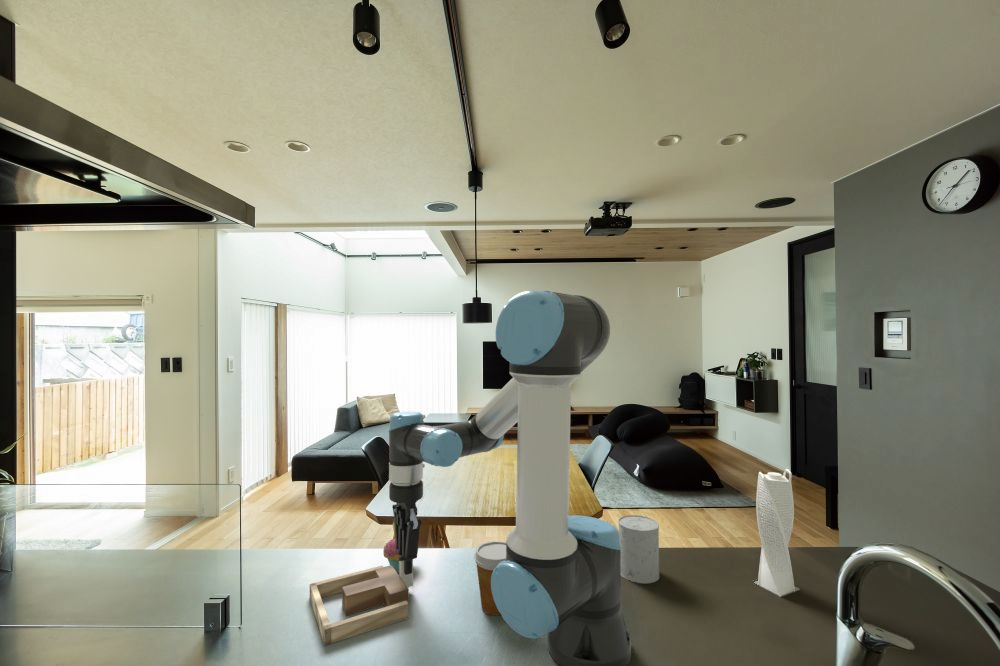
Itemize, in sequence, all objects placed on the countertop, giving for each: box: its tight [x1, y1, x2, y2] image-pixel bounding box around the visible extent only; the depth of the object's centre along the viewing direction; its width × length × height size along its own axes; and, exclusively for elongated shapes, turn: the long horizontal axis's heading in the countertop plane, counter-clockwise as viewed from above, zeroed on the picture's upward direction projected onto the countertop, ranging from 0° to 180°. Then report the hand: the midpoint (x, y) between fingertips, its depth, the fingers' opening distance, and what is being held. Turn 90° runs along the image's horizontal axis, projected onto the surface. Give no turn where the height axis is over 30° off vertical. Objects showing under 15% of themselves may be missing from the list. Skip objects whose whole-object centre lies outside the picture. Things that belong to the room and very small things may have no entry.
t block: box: [341, 564, 410, 617], centre depth 98 cm, size 12×12×4 cm
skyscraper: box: [753, 468, 801, 598], centre depth 104 cm, size 8×8×28 cm
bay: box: [309, 565, 409, 647], centre depth 96 cm, size 18×16×3 cm
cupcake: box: [383, 520, 419, 573], centre depth 113 cm, size 9×8×12 cm
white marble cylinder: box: [618, 514, 660, 585], centre depth 110 cm, size 10×10×12 cm
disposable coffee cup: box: [473, 540, 506, 616], centre depth 96 cm, size 10×10×12 cm
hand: (406, 585), depth 101 cm, fingers closed
